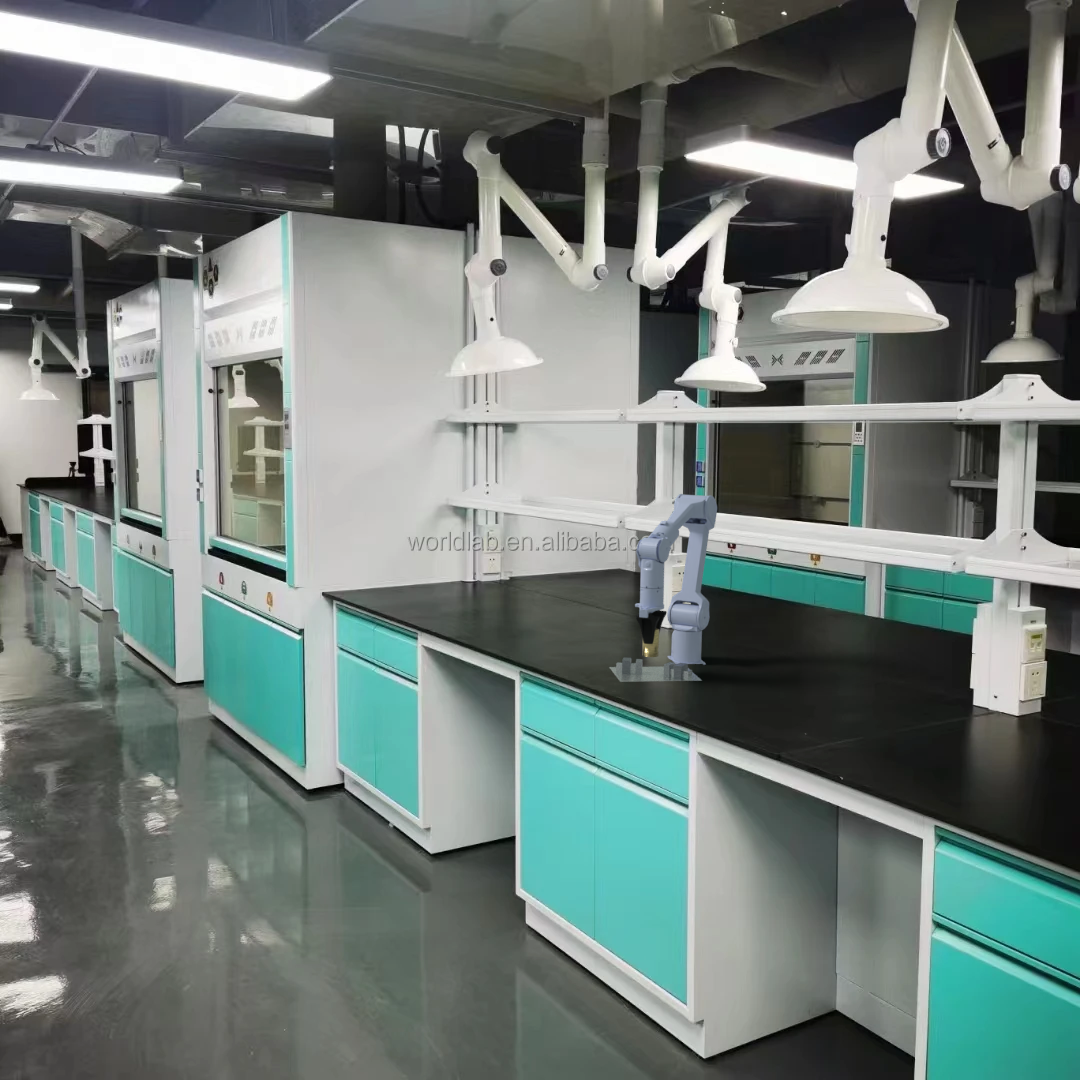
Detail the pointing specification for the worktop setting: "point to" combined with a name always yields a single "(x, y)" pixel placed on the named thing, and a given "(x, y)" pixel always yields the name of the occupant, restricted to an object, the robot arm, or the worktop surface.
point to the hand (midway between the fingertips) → (650, 641)
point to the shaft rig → (652, 672)
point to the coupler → (651, 647)
